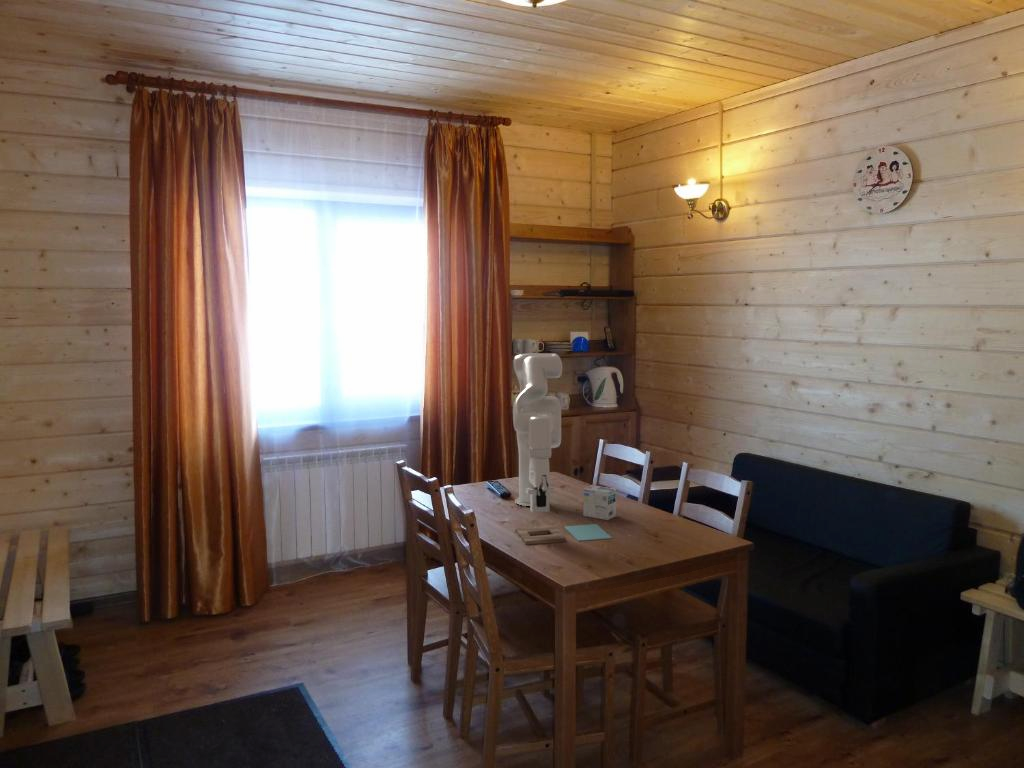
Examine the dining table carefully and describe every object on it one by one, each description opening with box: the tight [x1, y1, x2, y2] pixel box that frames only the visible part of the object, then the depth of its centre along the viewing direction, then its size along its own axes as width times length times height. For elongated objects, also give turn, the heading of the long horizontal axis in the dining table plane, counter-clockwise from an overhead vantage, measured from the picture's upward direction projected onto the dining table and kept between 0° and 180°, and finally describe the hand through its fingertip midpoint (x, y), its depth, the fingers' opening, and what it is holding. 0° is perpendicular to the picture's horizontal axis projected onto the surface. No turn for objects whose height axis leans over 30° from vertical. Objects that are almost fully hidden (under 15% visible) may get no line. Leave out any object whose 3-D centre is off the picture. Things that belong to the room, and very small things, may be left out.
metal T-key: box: [526, 485, 555, 514], centre depth 259 cm, size 3×9×8 cm, turn 104°
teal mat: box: [563, 523, 613, 542], centre depth 264 cm, size 16×12×1 cm
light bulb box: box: [582, 484, 617, 521], centre depth 283 cm, size 11×7×11 cm, turn 56°
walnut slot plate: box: [514, 525, 567, 545], centre depth 260 cm, size 14×14×1 cm
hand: (539, 504), depth 259 cm, fingers closed on metal T-key, 3 cm apart
